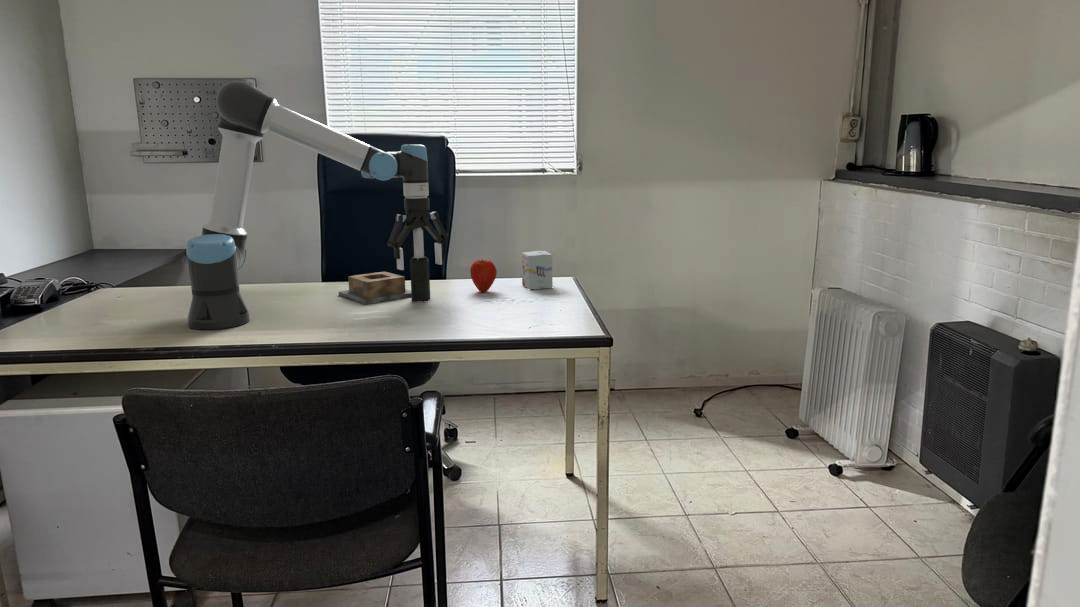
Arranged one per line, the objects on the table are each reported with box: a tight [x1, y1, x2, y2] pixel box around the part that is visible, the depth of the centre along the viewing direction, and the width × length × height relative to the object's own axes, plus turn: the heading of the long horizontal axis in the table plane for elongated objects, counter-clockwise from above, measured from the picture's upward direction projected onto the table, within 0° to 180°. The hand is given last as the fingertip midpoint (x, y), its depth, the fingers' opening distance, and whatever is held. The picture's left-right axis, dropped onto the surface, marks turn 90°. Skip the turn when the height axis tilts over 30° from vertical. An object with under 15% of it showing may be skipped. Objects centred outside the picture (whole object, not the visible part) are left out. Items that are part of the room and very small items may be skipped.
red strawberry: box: [469, 258, 498, 293], centre depth 223 cm, size 9×8×11 cm
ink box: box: [521, 250, 554, 290], centre depth 230 cm, size 9×9×12 cm
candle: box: [409, 228, 431, 303], centre depth 210 cm, size 5×5×25 cm
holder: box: [338, 271, 412, 305], centre depth 219 cm, size 18×18×6 cm
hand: (420, 266), depth 210 cm, fingers open, 13 cm apart
